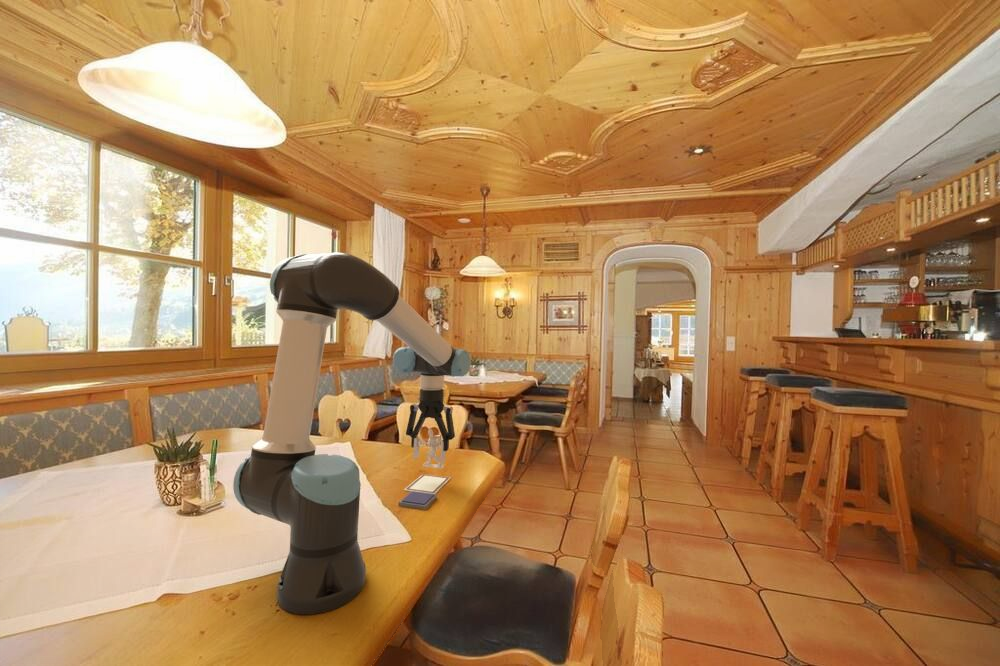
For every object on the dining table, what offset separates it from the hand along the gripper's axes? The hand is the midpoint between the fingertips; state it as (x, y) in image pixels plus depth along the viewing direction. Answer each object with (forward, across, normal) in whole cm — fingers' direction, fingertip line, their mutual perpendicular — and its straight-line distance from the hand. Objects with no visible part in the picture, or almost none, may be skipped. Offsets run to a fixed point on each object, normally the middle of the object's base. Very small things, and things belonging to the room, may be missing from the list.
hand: (429, 459), depth 126 cm
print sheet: (+8, 0, 0) cm, 8 cm away
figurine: (+3, 0, 0) cm, 3 cm away
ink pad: (+8, -2, +13) cm, 16 cm away
